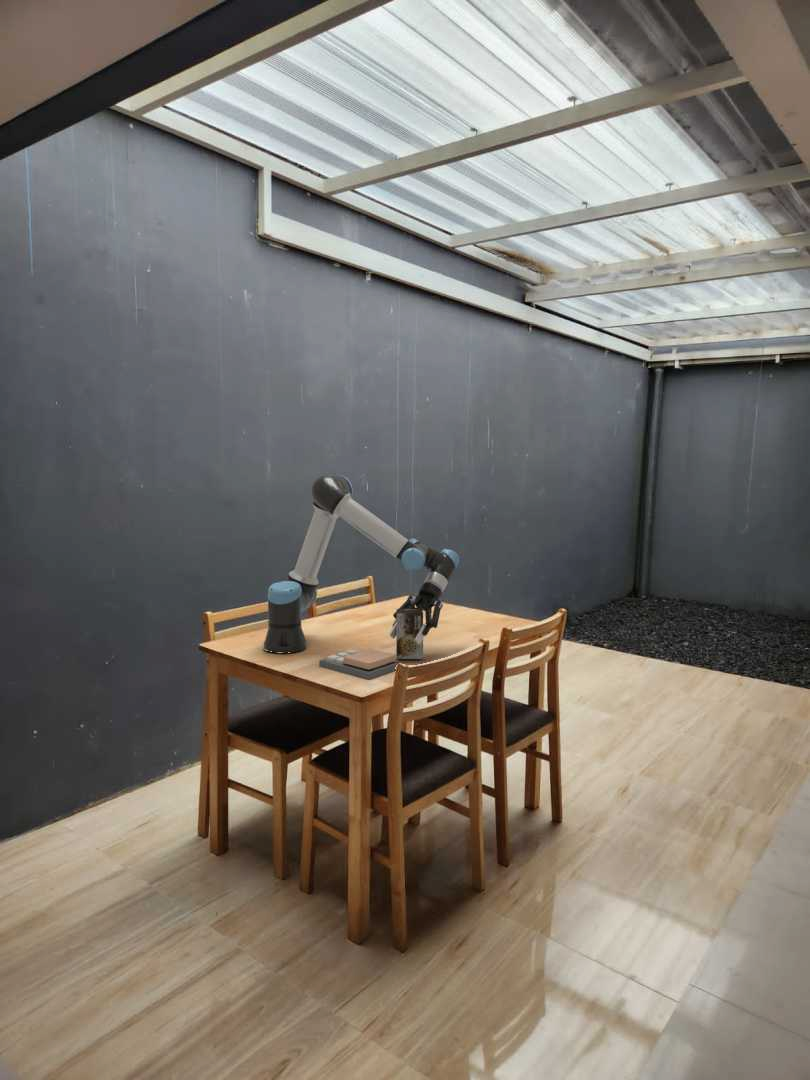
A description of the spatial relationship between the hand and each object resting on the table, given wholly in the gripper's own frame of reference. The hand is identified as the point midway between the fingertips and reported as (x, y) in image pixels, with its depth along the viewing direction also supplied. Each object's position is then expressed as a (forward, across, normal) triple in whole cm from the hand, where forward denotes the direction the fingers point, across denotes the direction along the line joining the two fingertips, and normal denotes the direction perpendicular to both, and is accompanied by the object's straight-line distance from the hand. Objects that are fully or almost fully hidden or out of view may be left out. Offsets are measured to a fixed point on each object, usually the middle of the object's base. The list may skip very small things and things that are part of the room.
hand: (404, 639), depth 233 cm
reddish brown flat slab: (+14, +2, +7) cm, 16 cm away
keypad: (+16, +6, +5) cm, 18 cm away
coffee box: (+3, 0, -7) cm, 7 cm away
